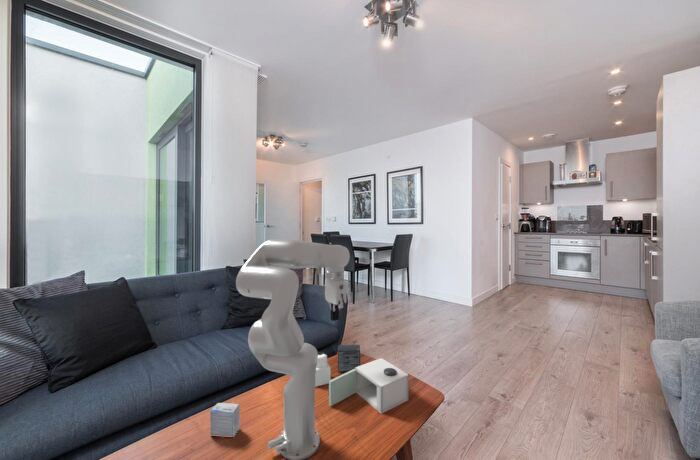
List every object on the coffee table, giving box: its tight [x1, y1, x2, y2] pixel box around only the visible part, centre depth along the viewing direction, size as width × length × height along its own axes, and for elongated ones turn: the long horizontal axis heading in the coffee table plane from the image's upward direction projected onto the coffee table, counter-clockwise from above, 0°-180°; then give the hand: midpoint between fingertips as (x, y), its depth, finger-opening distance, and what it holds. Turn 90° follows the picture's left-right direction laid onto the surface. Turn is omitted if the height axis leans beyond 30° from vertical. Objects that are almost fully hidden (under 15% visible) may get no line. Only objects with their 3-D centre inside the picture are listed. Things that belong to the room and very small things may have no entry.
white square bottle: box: [315, 351, 332, 388], centre depth 121 cm, size 7×7×12 cm
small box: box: [337, 344, 361, 374], centre depth 131 cm, size 11×6×10 cm, turn 91°
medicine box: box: [209, 402, 241, 438], centre depth 91 cm, size 8×4×9 cm, turn 84°
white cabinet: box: [355, 357, 410, 414], centre depth 111 cm, size 14×16×11 cm
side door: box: [327, 369, 357, 407], centre depth 109 cm, size 2×13×9 cm, turn 132°
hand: (334, 319), depth 114 cm, fingers closed
